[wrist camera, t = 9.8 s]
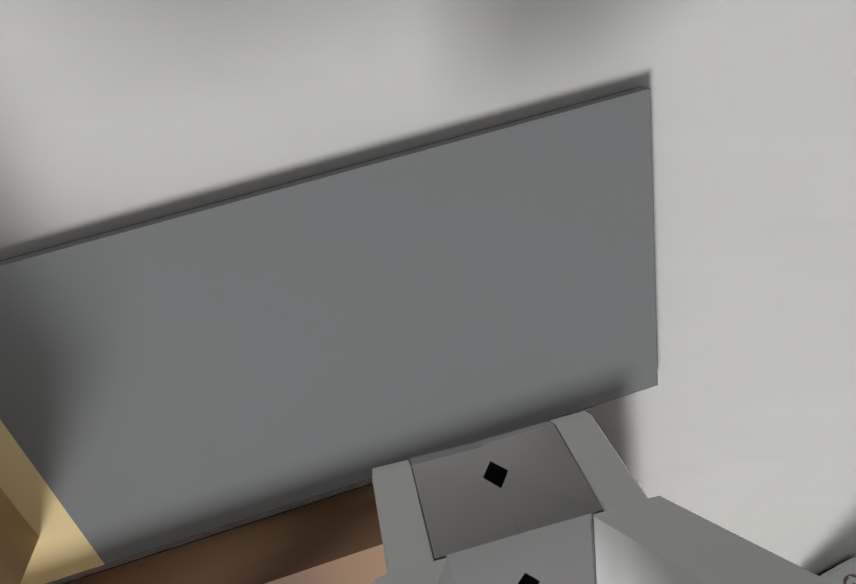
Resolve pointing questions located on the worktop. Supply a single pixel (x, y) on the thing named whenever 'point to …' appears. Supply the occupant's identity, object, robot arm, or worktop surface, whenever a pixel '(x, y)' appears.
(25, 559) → the light wooden block
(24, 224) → the worktop surface
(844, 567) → the skincare box
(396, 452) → the strip
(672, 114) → the worktop surface
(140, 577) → the walnut board
